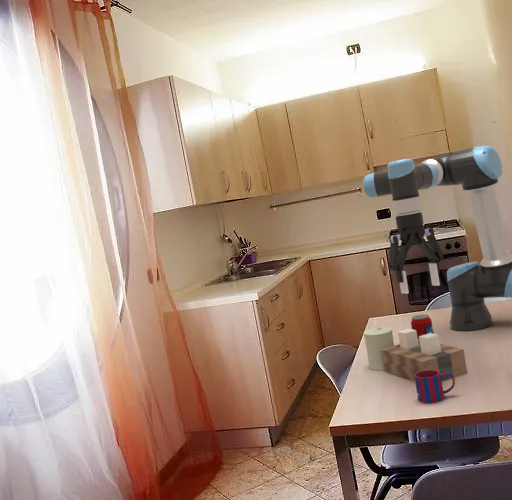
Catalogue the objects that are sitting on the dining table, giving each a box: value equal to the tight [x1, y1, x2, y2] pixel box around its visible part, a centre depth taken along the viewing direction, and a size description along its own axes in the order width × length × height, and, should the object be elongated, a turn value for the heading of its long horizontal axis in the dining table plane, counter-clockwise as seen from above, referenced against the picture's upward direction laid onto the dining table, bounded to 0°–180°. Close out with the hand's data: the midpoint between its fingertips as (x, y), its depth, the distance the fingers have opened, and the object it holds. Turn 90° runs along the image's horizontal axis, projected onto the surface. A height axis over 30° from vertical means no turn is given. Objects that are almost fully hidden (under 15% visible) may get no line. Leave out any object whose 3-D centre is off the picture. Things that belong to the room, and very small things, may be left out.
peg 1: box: [397, 328, 419, 350], centre depth 191 cm, size 4×4×7 cm
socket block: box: [381, 339, 468, 383], centre depth 186 cm, size 22×14×7 cm, turn 21°
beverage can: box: [410, 314, 435, 339], centre depth 207 cm, size 7×7×12 cm
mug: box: [414, 370, 456, 404], centre depth 163 cm, size 7×10×7 cm
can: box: [363, 326, 395, 371], centre depth 200 cm, size 9×9×12 cm
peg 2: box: [419, 333, 441, 356], centre depth 180 cm, size 4×4×7 cm
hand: (420, 289), depth 179 cm, fingers open, 10 cm apart
